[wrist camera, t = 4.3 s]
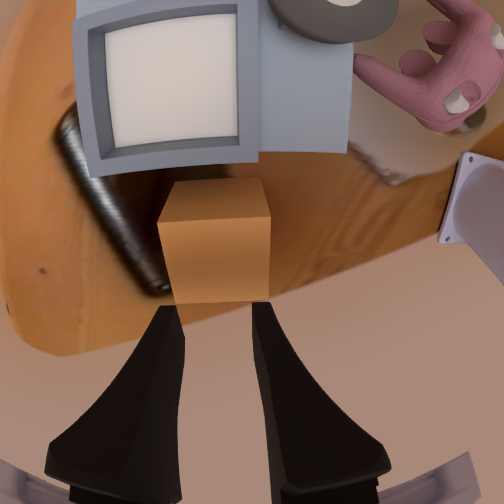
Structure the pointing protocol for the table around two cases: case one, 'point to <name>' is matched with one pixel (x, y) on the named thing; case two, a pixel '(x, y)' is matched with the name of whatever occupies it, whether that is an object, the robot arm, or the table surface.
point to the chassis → (202, 84)
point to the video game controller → (443, 68)
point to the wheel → (336, 18)
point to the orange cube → (217, 240)
